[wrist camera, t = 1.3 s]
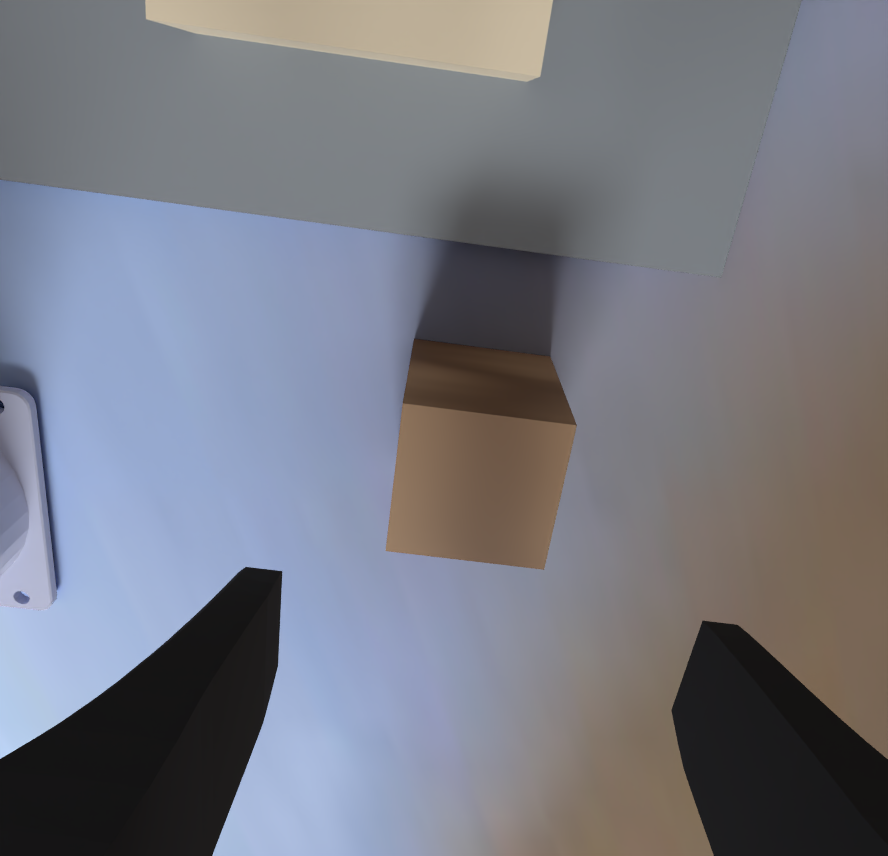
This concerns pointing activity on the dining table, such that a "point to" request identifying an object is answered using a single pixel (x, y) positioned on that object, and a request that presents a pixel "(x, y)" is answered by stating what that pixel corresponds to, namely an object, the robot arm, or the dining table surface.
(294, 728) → the dining table surface
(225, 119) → the grey board with block
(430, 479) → the walnut block
